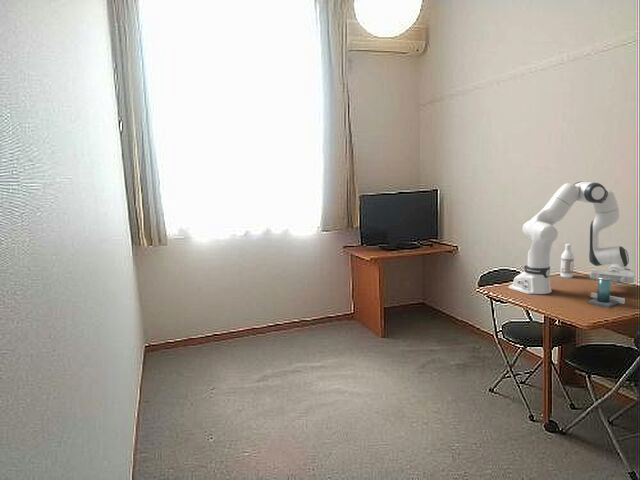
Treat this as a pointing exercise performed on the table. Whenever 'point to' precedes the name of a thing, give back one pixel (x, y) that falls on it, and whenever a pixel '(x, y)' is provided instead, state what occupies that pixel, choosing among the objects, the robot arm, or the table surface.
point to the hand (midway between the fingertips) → (609, 279)
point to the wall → (620, 300)
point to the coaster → (609, 304)
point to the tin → (603, 289)
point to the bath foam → (567, 262)
